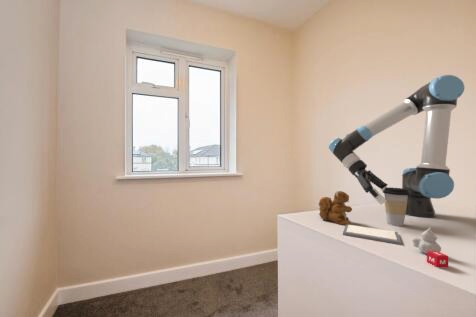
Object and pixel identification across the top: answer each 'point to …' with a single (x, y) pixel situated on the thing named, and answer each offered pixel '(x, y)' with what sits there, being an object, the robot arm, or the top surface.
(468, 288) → the top surface
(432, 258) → the dice
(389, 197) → the coffee cup
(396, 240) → the picture frame
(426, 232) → the light grey lumpy piece
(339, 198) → the stuffed squirrel
